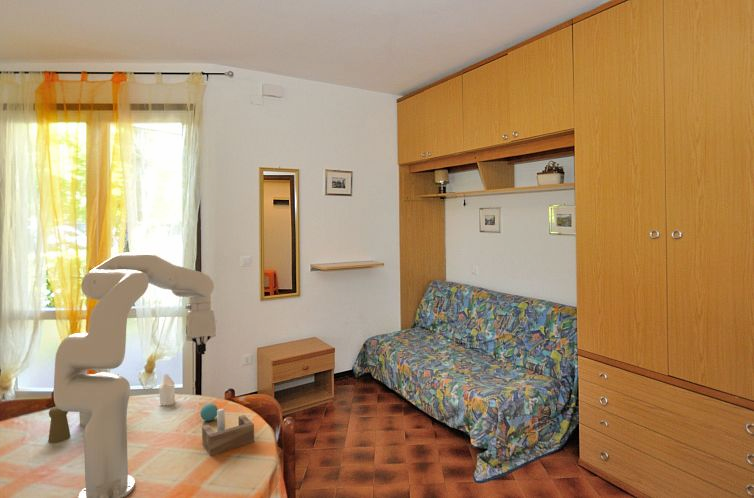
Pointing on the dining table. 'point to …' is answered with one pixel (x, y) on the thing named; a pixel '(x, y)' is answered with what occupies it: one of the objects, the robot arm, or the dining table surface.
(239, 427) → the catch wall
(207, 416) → the ball
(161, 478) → the dining table surface
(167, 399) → the white pointed block
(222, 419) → the pin
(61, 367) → the robot arm
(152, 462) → the dining table surface
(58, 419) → the cork
